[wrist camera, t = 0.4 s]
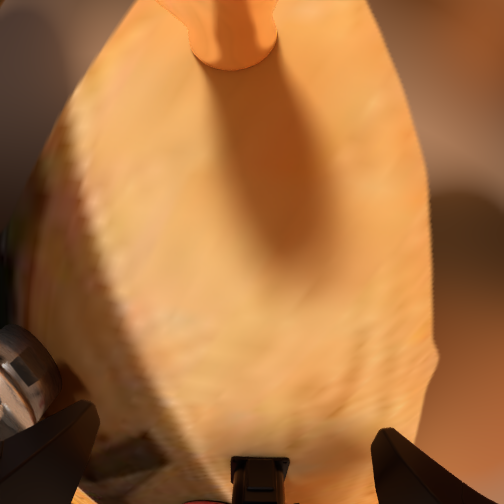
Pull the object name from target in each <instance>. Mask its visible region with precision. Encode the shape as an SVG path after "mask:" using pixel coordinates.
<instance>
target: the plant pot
mask: <svg viewBox="0 0 504 504" xmlns="http://www.w3.org/2000/svg"><path fill="white" fill-rule="evenodd" d="M184 504H224V503H219V502H210V501H206V500H202V501H193V502H187V503H184Z"/></svg>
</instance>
